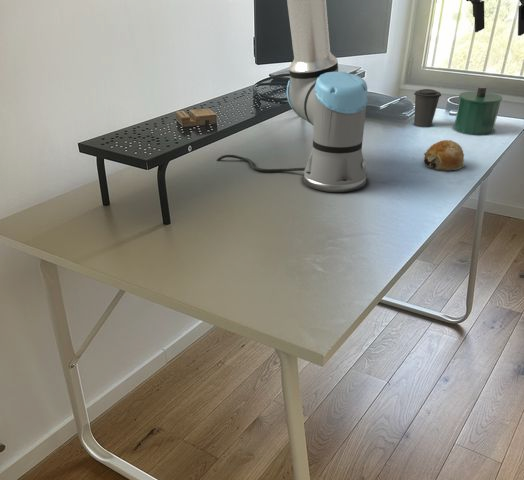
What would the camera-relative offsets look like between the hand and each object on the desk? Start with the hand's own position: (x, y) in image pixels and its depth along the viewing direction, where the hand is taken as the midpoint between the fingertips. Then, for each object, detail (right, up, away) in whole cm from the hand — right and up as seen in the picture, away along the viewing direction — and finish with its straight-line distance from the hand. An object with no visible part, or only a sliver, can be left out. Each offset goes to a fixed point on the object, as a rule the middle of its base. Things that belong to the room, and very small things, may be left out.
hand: (500, 32), depth 142 cm
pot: (+4, -14, +28) cm, 32 cm away
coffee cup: (-11, -11, +33) cm, 36 cm away
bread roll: (-14, -33, +3) cm, 36 cm away
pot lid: (+4, -7, +23) cm, 24 cm away
